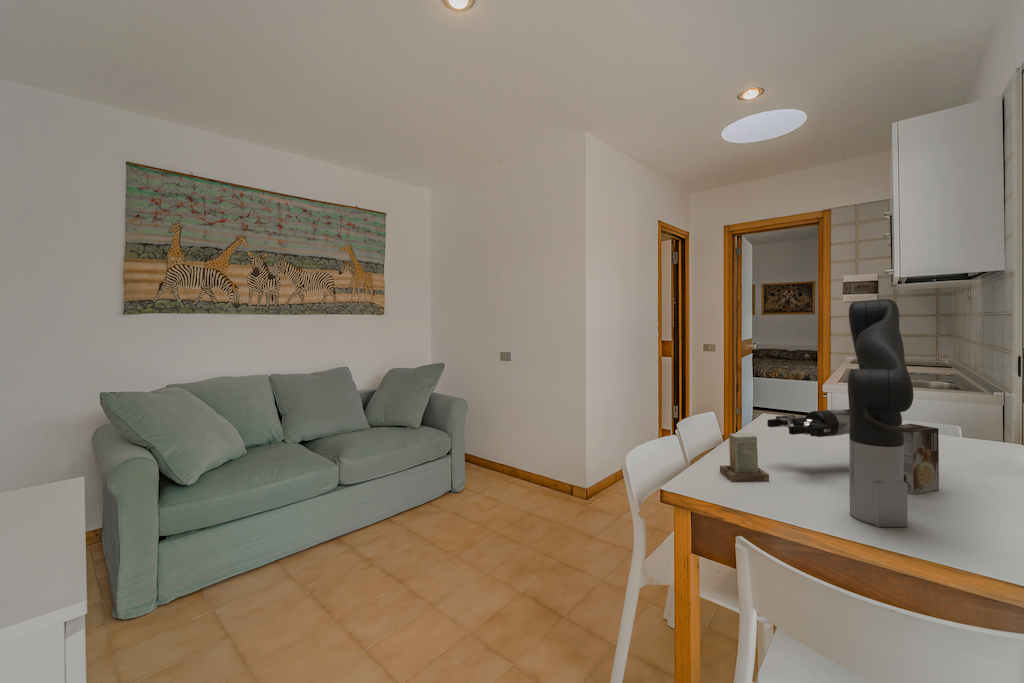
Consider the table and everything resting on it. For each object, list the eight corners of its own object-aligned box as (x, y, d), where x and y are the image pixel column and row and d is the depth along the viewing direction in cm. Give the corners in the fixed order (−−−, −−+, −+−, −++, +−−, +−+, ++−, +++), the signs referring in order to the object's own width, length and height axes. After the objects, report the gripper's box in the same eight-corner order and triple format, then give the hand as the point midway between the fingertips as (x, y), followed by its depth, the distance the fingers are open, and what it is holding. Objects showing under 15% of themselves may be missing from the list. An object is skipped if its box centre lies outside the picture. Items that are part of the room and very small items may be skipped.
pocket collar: (769, 481, 120) (769, 474, 120) (732, 481, 120) (732, 474, 120) (754, 471, 128) (754, 465, 128) (719, 472, 128) (719, 465, 128)
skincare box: (751, 474, 126) (751, 432, 126) (758, 479, 122) (758, 436, 121) (728, 474, 127) (728, 432, 126) (735, 479, 122) (734, 436, 122)
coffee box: (910, 482, 116) (910, 423, 116) (939, 490, 110) (940, 428, 110) (885, 486, 114) (885, 426, 113) (914, 495, 108) (914, 431, 107)
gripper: (809, 405, 134) (761, 409, 132) (850, 415, 120) (797, 419, 118) (809, 429, 135) (761, 433, 133) (850, 442, 120) (797, 446, 118)
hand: (778, 426), depth 125 cm, fingers open, 8 cm apart
